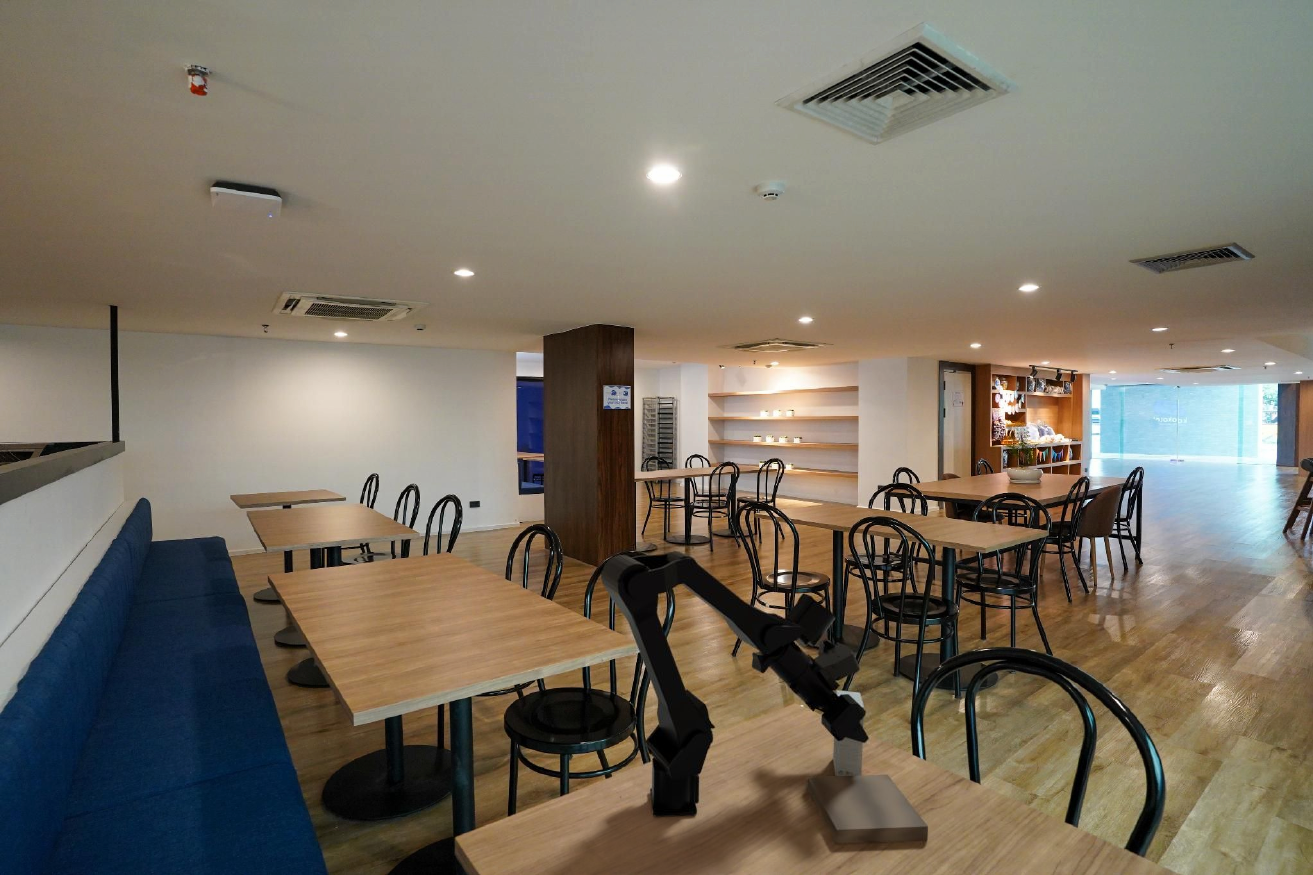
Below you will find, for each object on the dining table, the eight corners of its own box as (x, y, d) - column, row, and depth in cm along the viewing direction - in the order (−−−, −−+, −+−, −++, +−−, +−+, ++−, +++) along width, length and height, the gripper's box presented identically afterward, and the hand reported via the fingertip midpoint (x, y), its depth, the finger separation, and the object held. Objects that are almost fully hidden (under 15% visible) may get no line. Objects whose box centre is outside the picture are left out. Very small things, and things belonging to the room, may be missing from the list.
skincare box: (862, 780, 107) (864, 707, 106) (834, 777, 108) (837, 704, 107) (858, 760, 113) (860, 691, 112) (832, 757, 114) (834, 689, 113)
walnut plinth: (836, 843, 91) (837, 829, 91) (807, 789, 104) (807, 776, 104) (927, 840, 92) (928, 826, 92) (887, 786, 105) (887, 774, 105)
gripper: (855, 652, 99) (920, 720, 102) (806, 614, 118) (862, 671, 120) (804, 707, 98) (870, 774, 101) (763, 659, 117) (820, 717, 119)
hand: (856, 729), depth 110 cm, fingers closed on skincare box, 7 cm apart
